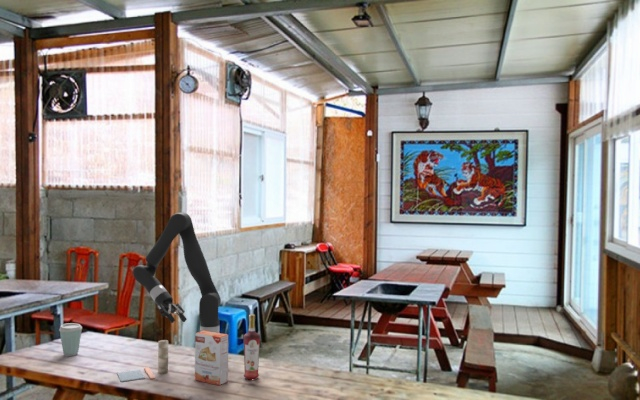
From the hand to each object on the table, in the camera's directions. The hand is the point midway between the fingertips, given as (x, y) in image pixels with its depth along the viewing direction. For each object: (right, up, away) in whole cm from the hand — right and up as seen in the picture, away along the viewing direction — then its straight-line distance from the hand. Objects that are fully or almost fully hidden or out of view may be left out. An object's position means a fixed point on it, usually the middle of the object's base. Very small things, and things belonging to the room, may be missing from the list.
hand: (179, 321), depth 250 cm
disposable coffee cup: (-60, -21, +18) cm, 66 cm away
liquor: (+36, -22, -15) cm, 45 cm away
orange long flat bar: (-11, -21, -10) cm, 26 cm away
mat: (-18, -21, -14) cm, 31 cm away
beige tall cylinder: (-6, -21, -8) cm, 23 cm away
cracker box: (+19, -22, -20) cm, 35 cm away
